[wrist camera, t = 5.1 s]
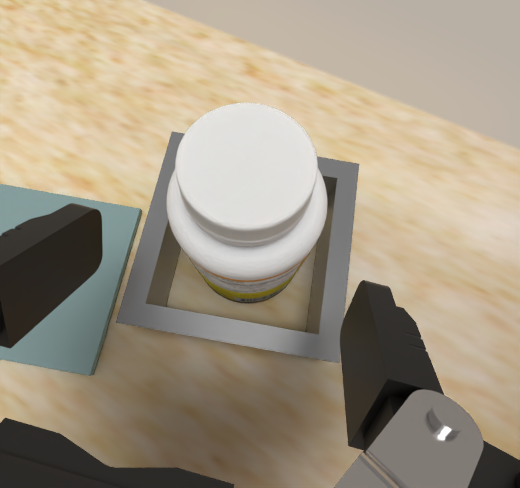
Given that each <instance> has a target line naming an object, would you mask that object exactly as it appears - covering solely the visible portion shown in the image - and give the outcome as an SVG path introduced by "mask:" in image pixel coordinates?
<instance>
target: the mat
mask: <svg viewBox="0 0 520 488" xmlns="http://www.w3.org/2000/svg"><path fill="white" fill-rule="evenodd" d="M70 203H75V204H79V205H83V206H87V207H90V208H94V209H97V210H99V211H100V213H101V215H102V245H103V256H102V261H101V264H100V266H99V268H98V270H97V271H96V272H95V273H94V274H93V275H92V276H91V277H90V278H89V279H88V280H87V281H86V282H84V283H83V284H82V285H81V286H80V287H79V288H78V289H77V290H76V291H74V292H73V293H72V294H71V295H70V296H69V297H68V298H67V299H66V300H64V301H63V302H62V303H61V304H60V305H59V306H58V307H57V308H55V309H54V310H53V311H52V312H51V313H50V314H49V315H48V316H47V317H45V318H44V319H43V320H42V321H41V322H40V323H39V324H38V325H37V326H35V327H34V328H33V329H32V330H31V331H30V332H29V333H28V334H26V335H25V336H24V337H23V338H22V339H21V340H20V341H19V342H18V343H16V344H15V345H14V346H13V347H12V348H11V349H10V348H6V347H3V346H0V359H2V360H7V361H12V362H18V363H23V364H29V365H34V366H39V367H45V368H50V369H56V370H61V371H66V372H72V373H77V374H83V375H88V376H91V375H93V374H94V371H95V368H96V364H97V361H98V358H99V354H100V351H101V348H102V344H103V341H104V338H105V334H106V331H107V328H108V324H109V321H110V318H111V314H112V311H113V308H114V304H115V301H116V298H117V294H118V291H119V287H120V284H121V281H122V277H123V274H124V271H125V267H126V264H127V261H128V257H129V254H130V251H131V247H132V244H133V241H134V237H135V234H136V231H137V227H138V224H139V221H140V217H141V214H142V210H141V209H139V208H133V207H128V206H122V205H116V204H111V203H105V202H99V201H94V200H88V199H82V198H77V197H71V196H65V195H60V194H54V193H48V192H43V191H37V190H31V189H26V188H20V187H14V186H9V185H3V184H0V236H1V235H2V233H4V232H6V231H8V230H10V229H12V228H13V229H15V226H17V225H19V224H21V223H23V222H25V221H27V220H29V219H32V218H36V217H40V216H44V215H48V214H51V213H53V212H55V211H57V210H58V209H60V208H62V207H64V206H66V205H68V204H70Z"/></svg>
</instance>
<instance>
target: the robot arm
mask: <svg viewBox="0 0 520 488" xmlns="http://www.w3.org/2000/svg"><path fill="white" fill-rule="evenodd" d="M102 256H103V245H102V215H101V213H100V211H99V210H97V209H94V208H90V207H87V206H83V205H79V204H75V203H70V204H68V205H66V206H64V207H62V208H60V209H58V210H57V211H55V212H53V213H51V214H48V215H44V216H40V217H36V218H32V219H29V220H27V221H25V222H23V223H21V224H19V225H17V226H15V229H13V228H12V229H10V230H8V231H6V232H4V233H2V235H1V236H0V346H3V347H6V348H10V349H11V348H12V347H13V346H14V345H15V344H16V343H18V342H19V341H20V340H21V339H22V338H23V337H24V336H25V335H26V334H28V333H29V332H30V331H31V330H32V329H33V328H34V327H35V326H37V325H38V324H39V323H40V322H41V321H42V320H43V319H44V318H45V317H47V316H48V315H49V314H50V313H51V312H52V311H53V310H54V309H55V308H57V307H58V306H59V305H60V304H61V303H62V302H63V301H64V300H66V299H67V298H68V297H69V296H70V295H71V294H72V293H73V292H74V291H76V290H77V289H78V288H79V287H80V286H81V285H82V284H83V283H84V282H86V281H87V280H88V279H89V278H90V277H91V276H92V275H93V274H94V273H95V272H96V271H97V270H98V268H99V266H100V264H101V261H102ZM340 349H341V362H342V374H343V386H344V398H345V410H346V422H347V434H348V446H350V447H354V448H357V449H361V450H364V451H363V452H362V453H361V454H360V456H359V457H358V458H357V459H356V460H355V462H354V463H353V464H352V466H351V467H350V468H349V469H348V471H347V472H346V473H345V474H344V476H343V477H342V478H341V479H340V481H339V482H338V483H337V484H336V486H335V487H334V488H520V460H518V459H516V458H514V457H513V456H511V455H509V454H507V453H505V452H503V451H502V450H500V449H498V448H496V447H494V446H492V445H491V444H489V443H487V442H485V441H484V440H483V438H482V435H481V432H480V430H479V428H478V426H477V424H476V423H475V422H474V420H473V419H472V417H471V416H470V415H469V414H468V413H467V412H466V411H465V410H464V409H463V408H462V407H461V406H460V405H458V404H457V403H456V402H454V401H453V400H451V399H450V398H448V397H446V396H445V395H444V393H443V391H442V388H441V386H440V383H439V381H438V378H437V376H436V373H435V371H434V368H433V365H432V363H431V360H430V358H429V355H428V353H427V352H426V351H425V350H426V348H425V345H424V343H423V340H422V339H421V335H420V332H419V330H418V327H417V325H416V322H415V321H414V320H413V319H412V318H411V316H410V315H409V314H408V313H407V312H406V311H405V309H404V308H401V307H397V306H396V304H395V301H394V299H393V296H392V293H391V290H390V288H389V287H388V286H384V285H380V284H376V283H372V282H369V281H365V280H363V281H361V282H360V284H359V286H358V288H357V290H356V292H355V295H354V297H353V299H352V302H351V304H350V306H349V308H348V311H347V313H346V315H345V318H344V320H343V323H342V327H341V331H340ZM0 488H234V484H231V483H228V482H224V481H221V480H217V479H214V478H210V477H207V476H204V475H200V474H197V473H193V472H190V471H186V470H183V469H180V468H114V467H109V466H107V465H105V464H103V463H102V462H100V461H99V460H97V459H96V458H95V457H93V456H92V455H90V454H89V453H87V452H86V451H84V450H83V449H82V448H80V447H79V446H77V445H76V444H74V443H73V442H71V441H70V440H69V439H67V438H66V437H64V436H63V435H61V434H59V433H56V432H53V431H49V430H46V429H42V428H39V427H35V426H32V425H28V424H25V423H22V422H18V421H15V420H11V419H8V418H5V419H4V420H3V421H2V422H1V423H0Z"/></svg>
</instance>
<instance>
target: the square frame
mask: <svg viewBox="0 0 520 488" xmlns="http://www.w3.org/2000/svg"><path fill="white" fill-rule="evenodd" d="M184 135H185V134H183V133H177V132H172V134H171V137H170V140H169V144H168V147H167V151H166V154H165V157H164V161H163V164H162V168H161V171H160V174H159V178H158V181H157V185H156V188H155V191H154V195H153V198H152V202H151V205H150V208H149V212H148V215H147V219H146V222H145V226H144V229H143V232H142V236H141V239H140V243H139V246H138V249H137V253H136V256H135V260H134V263H133V266H132V270H131V273H130V277H129V280H128V283H127V287H126V290H125V294H124V297H123V300H122V304H121V307H120V311H119V314H118V318H117V321H116V323H122V324H127V325H133V326H138V327H144V328H149V329H154V330H160V331H165V332H171V333H176V334H182V335H187V336H193V337H198V338H204V339H209V340H215V341H220V342H226V343H231V344H237V345H242V346H248V347H253V348H259V349H264V350H270V351H275V352H281V353H286V354H292V355H297V356H303V357H308V358H313V359H319V360H324V361H330V362H335V363H340V353H341V349H340V331H341V327H342V323H343V320H344V312H345V302H346V292H347V281H348V271H349V261H350V251H351V241H352V231H353V220H354V210H355V200H356V190H357V180H358V170H359V164H357V163H351V162H345V161H339V160H333V159H328V158H322V157H317V162H318V169H319V171H320V173H321V175H322V177H323V180H324V183H325V187H326V192H327V215H326V220H325V224H324V227H323V230H322V232H321V234H320V236H319V238H318V242H317V250H316V258H315V265H314V273H313V281H312V289H311V296H310V304H309V312H308V320H307V327H306V332H301V331H296V330H290V329H285V328H279V327H274V326H268V325H263V324H257V323H252V322H246V321H240V320H235V319H229V318H224V317H218V316H213V315H207V314H202V313H196V312H191V311H185V310H180V309H174V308H169V307H166V304H167V300H168V296H169V292H170V288H171V284H172V280H173V276H174V272H175V268H176V264H177V261H178V257H179V253H180V249H181V246H180V245H179V243H178V242H177V240H176V238H175V236H174V234H173V232H172V229H171V227H170V223H169V220H168V215H167V204H166V202H167V191H168V186H169V182H170V179H171V177H172V174H173V172H174V170H175V161H176V155H177V150H178V147H179V144H180V142H181V140H182V138H183V136H184Z"/></svg>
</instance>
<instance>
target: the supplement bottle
mask: <svg viewBox="0 0 520 488" xmlns="http://www.w3.org/2000/svg"><path fill="white" fill-rule="evenodd" d="M166 204H167V215H168V220H169V223H170V227H171V229H172V232H173V234H174V236H175V238H176V240H177V242H178V243H179V245H180V246H181V248H182V249H183V251H184V252H185V253H186V255H187V256H188V257H189V259H190V260H191V261H192V263H193V264H194V266H195V267H196V269H197V270H198V271H199V273H200V274H201V275H202V277H203V278H204V280H205V281H206V283H207V284H208V285H209V286H210V287H211V288H212V289H213V290H214V291H215V292H216V293H218V294H219V295H221V296H223V297H224V298H226V299H229V300H232V301H235V302H240V303H257V302H261V301H265V300H267V299H270V298H272V297H273V296H275V295H277V294H278V293H279V292H281V291H282V290H283V289H284V288H285V287H286V286H287V285H288V284H289V282H290V281H291V280H292V278H293V277H294V275H295V274H296V272H297V271H298V269H299V268H300V266H301V265H302V263H303V262H304V260H305V259H306V257H307V256H308V254H309V253H310V251H311V250H312V248H313V247H314V245H315V243H316V242H317V240H318V238H319V236H320V234H321V232H322V230H323V227H324V224H325V220H326V215H327V192H326V187H325V183H324V180H323V177H322V175H321V173H320V171H319V169H318V162H317V155H316V152H315V148H314V146H313V143H312V141H311V139H310V137H309V136H308V134H307V133H306V131H305V130H304V129H303V128H302V126H301V125H300V124H299V123H298V122H296V121H295V120H294V119H293V118H292V117H290V116H289V115H287V114H285V113H284V112H282V111H280V110H278V109H275V108H273V107H270V106H266V105H262V104H257V103H235V104H230V105H226V106H222V107H219V108H217V109H214V110H212V111H210V112H208V113H206V114H205V115H203V116H202V117H201V118H199V119H198V120H197V121H196V122H194V123H193V125H192V126H191V127H190V128H189V129H188V130H187V132H186V133H185V135H184V136H183V138H182V140H181V142H180V144H179V147H178V150H177V155H176V161H175V170H174V172H173V174H172V177H171V179H170V182H169V186H168V191H167V202H166Z"/></svg>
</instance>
